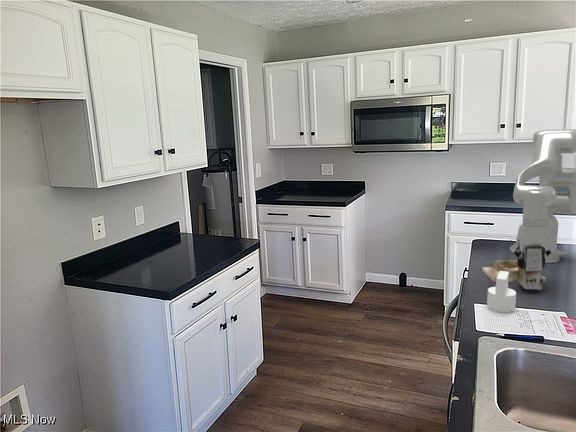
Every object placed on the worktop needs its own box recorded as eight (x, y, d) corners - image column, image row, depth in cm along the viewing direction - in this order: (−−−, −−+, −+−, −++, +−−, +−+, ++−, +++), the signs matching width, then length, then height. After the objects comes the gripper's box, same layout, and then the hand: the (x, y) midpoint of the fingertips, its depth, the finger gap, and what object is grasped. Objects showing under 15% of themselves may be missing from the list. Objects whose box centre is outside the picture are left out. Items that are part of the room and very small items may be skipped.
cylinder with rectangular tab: (513, 314, 150) (516, 281, 147) (485, 309, 154) (486, 277, 152) (516, 304, 157) (518, 272, 154) (488, 300, 162) (490, 269, 159)
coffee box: (542, 289, 165) (546, 248, 161) (524, 289, 166) (527, 248, 162) (534, 280, 173) (537, 241, 170) (516, 280, 175) (519, 241, 171)
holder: (530, 270, 191) (531, 260, 190) (545, 281, 177) (546, 270, 176) (482, 270, 193) (482, 260, 192) (493, 281, 179) (494, 271, 178)
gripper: (553, 219, 167) (550, 263, 171) (505, 220, 169) (503, 264, 173) (563, 223, 159) (559, 270, 163) (513, 225, 161) (510, 271, 165)
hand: (530, 267), depth 168 cm, fingers closed on coffee box, 6 cm apart
